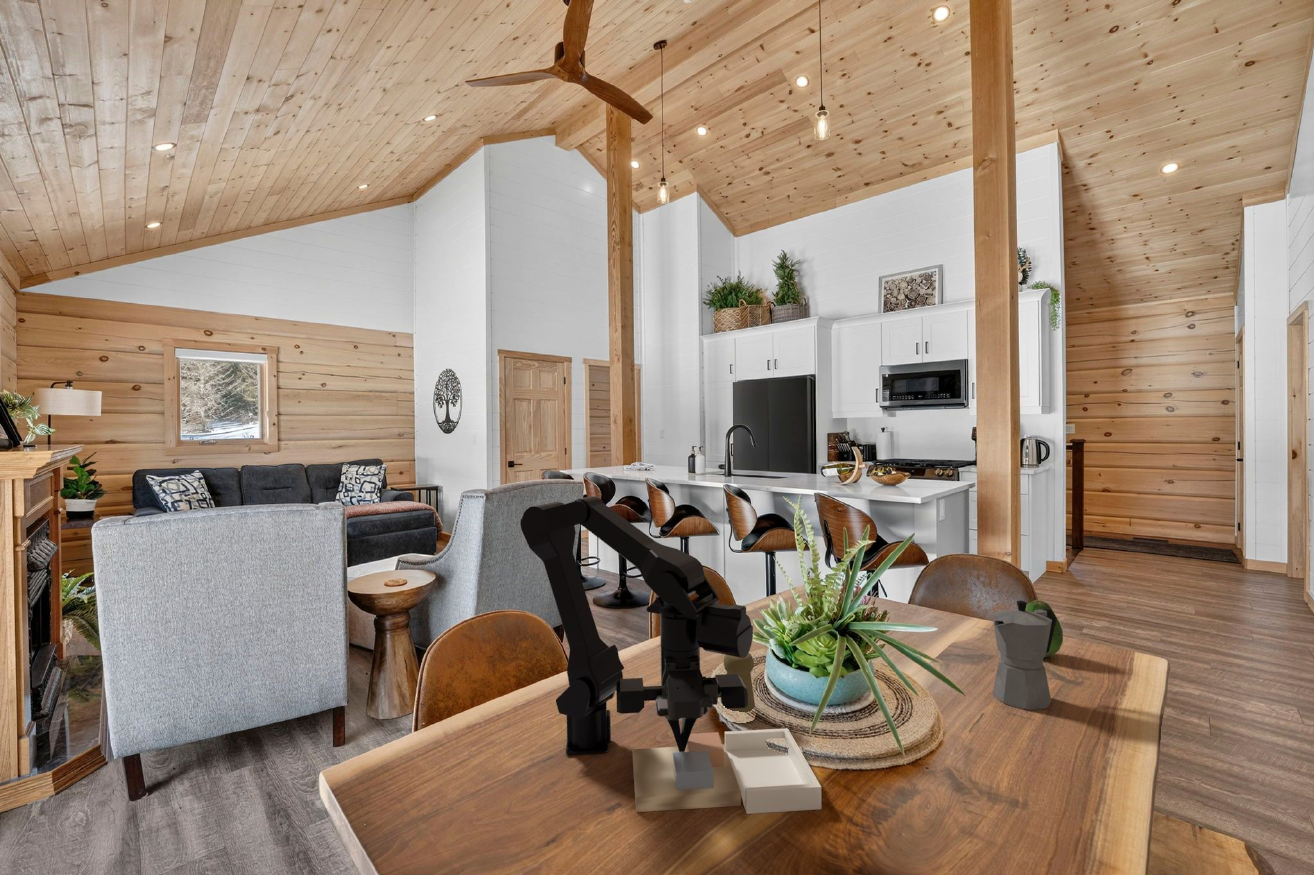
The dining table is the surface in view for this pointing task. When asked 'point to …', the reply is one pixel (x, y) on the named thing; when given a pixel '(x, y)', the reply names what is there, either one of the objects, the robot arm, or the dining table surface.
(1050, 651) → the avocado
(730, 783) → the board
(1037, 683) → the coffeepot
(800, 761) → the tray
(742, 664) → the cork
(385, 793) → the dining table surface
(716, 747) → the tile terracotta
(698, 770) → the grey-blue rounded block
